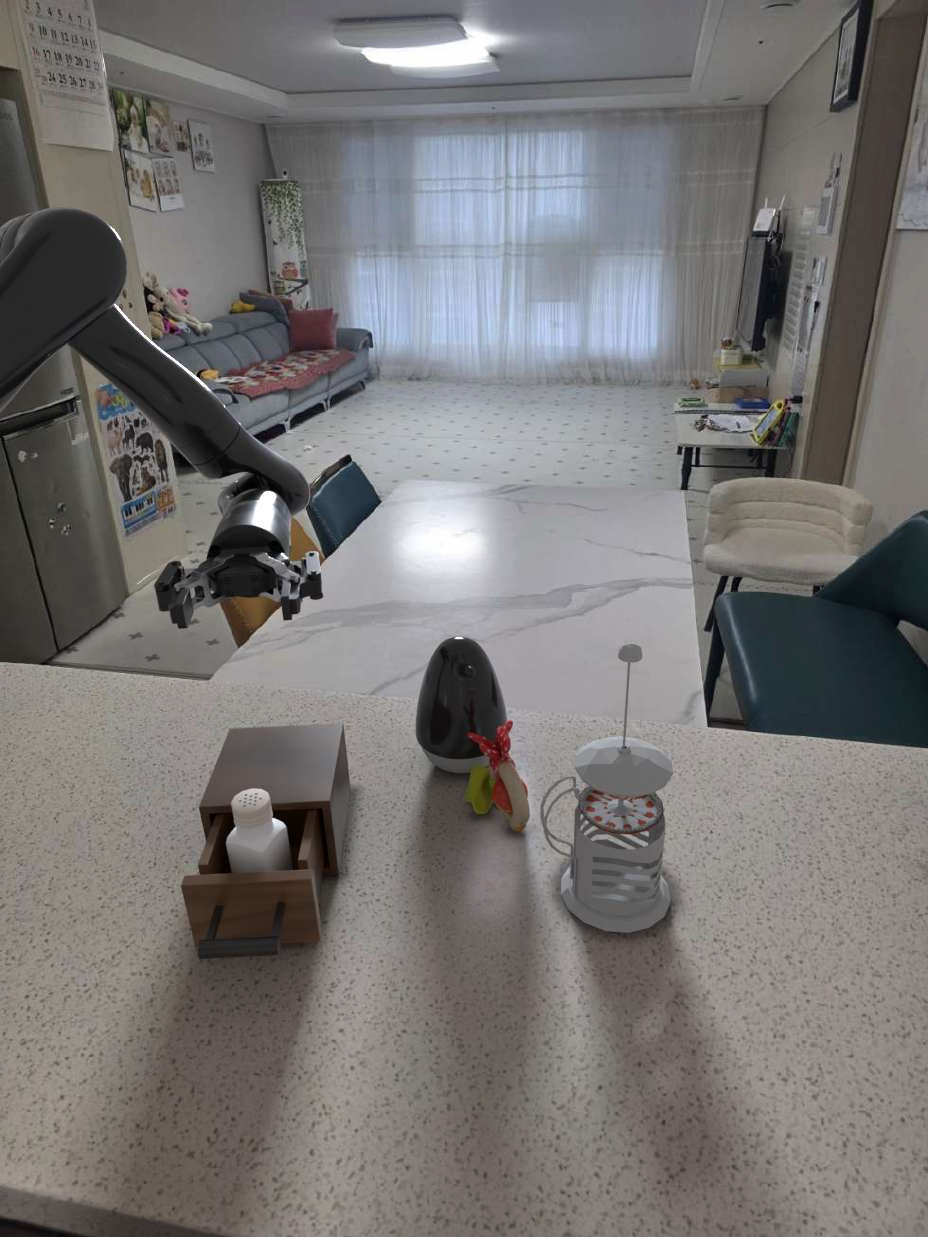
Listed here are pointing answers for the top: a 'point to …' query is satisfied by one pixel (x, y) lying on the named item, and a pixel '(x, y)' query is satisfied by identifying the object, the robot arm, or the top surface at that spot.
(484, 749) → the bird rattle
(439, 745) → the black egg-shaped device
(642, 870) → the french press
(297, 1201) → the top surface
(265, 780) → the cabinet
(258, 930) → the drawer
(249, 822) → the pepper shaker
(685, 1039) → the top surface
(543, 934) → the top surface
